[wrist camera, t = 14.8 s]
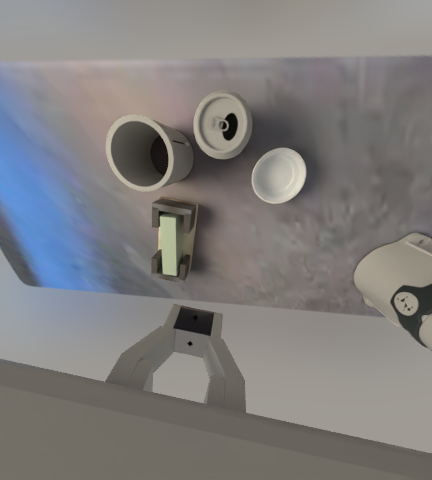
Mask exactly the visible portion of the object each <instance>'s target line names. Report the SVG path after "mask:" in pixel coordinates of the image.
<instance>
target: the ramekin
mask: <svg viewBox="0 0 432 480" xmlns="http://www.w3.org/2000/svg"><path fill="white" fill-rule="evenodd" d="M306 173H307V172H306V165H305V162H304V160H303V158H302V157H301V156H300V155H299V154H298V153H297V152H296V151H294V150H292V149H289V148H276V149H273V150H271V151H269V152H267V153H266V154H264V155H263V156H262V157H261V158H260V159H259V160H258V162H257V163H256V165H255V167H254V169H253V172H252V186H253V189H254V191H255V193H256V194H257V196H258V197H259V198H260V199H262V200H263V201H265V202H268V203H273V204H279V203H283V202H286V201H289V200H290V199H292V198H293V197H295V196H296V195H297V194H298V193H299V191H300V190H301V189H302V187H303V185H304V183H305V179H306Z"/></svg>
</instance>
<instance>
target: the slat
mask: <svg viewBox="0 0 432 480" xmlns="http://www.w3.org/2000/svg"><path fill="white" fill-rule="evenodd" d="M160 230H161V248H162V266H163V274H166V275H174V276H177V274H178V272H179V270H180V264H181V262H182V260H183V215H180V214H175V213H170V212H165V213H164V214H162V215H161V216H160Z"/></svg>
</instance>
